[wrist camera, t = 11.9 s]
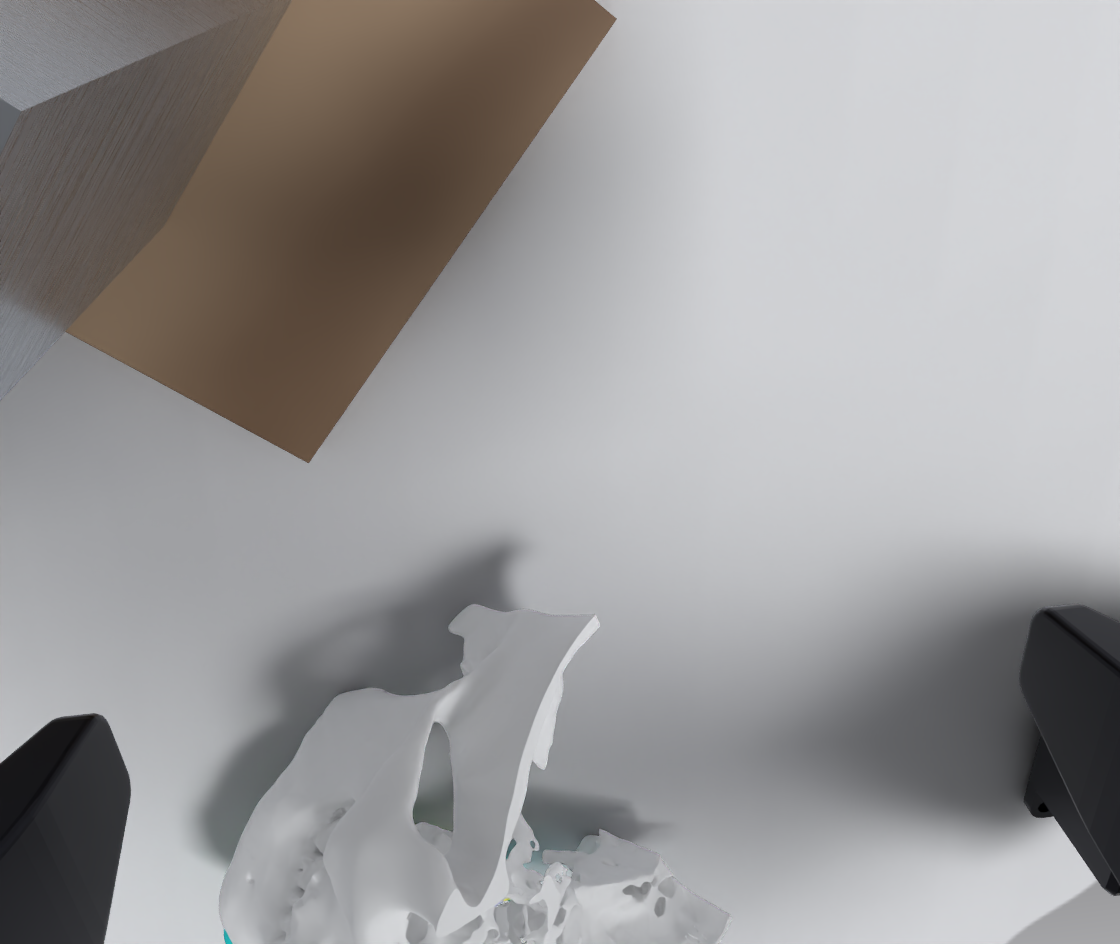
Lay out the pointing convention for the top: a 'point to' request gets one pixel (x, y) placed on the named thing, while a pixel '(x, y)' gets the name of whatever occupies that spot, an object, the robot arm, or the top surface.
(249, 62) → the jaw
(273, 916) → the white crumpled lump
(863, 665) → the top surface
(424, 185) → the plate
